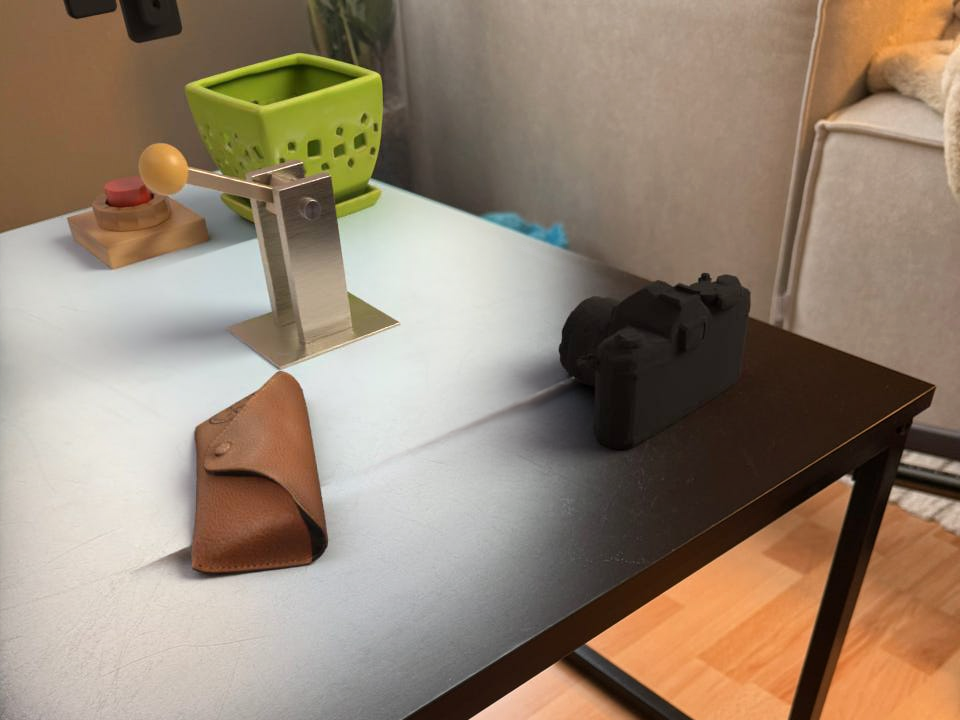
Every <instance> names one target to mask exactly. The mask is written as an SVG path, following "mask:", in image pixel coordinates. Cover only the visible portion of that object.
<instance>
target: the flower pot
mask: <svg viewBox="0 0 960 720" xmlns="http://www.w3.org/2000/svg"><path fill="white" fill-rule="evenodd" d="M184 92H185V96H186V99H187V103H188V106H189V109H190V112H191V115H192V118H193V120H194V124H195V126H196V128H197V131H198V134H199V136H200V138H201V140H202V142H203V144H204V146H205V148H206V150H207V152H208V154H209V155H210V157H211V159H212V161H213V162H214V164H215V166H216V167H217V168H218V170H219V171H220V174H222V175H226V176H230V177H235V178H239V179H243V180H246V176H245V174H246V173H248V172H252V171H256V170H259V169H263V168H266V167H270V166H274V165H277V164H281V163H284V162H288V161H292V160H295V159H297V160H299V161H302V162H303V165H304V172H305V177H309V176H312V175H316V174H319V173H323V172H325V173H327V174H330V175H331V177H332V185H333V192H334V199H335V206H336V214H337V220H338V219H340V218H343V217H346V216H349V215H352V214H355V213H357V212H360V211H363V210H366V209H369V208H371V207H373V206H375V205H376V203H378V201H379V199H380V198H381V196H382V189H381V188H380V187H377V186H374V185H372V184H369V182H370V180H371V178H372V175H373V173H374V169H375V166H376V162H377V159H378V156H379V150H380V146H381V137H382V125H383V124H382V123H383V113H384V112H383V111H384V100H383V98H384V96H383V80H382V76H381V75H380V74H379V72H377V71H373V70H371V69H367V68H365V67H361V66H358V65H355V64H351V63H347V62H344V61H340V60H337V59H332V58H328V57H324V56H319V55H314V54H309V53H303V52H298V53H297V52H296V53H293V54H289V55H288V54H287V55H285V56H280V57H276V58H273V59H269V60H264V61H261V62H257V63H254V64H250V65H246V66H243V67H239V68H236V69H235V68H234V69H231V70H228V71H226V72H222V73H217V74H215V75H211V76H207V77H204V78H201V79H198V80H195V81H191V82H189V83H187V84H186V85H184ZM294 96H295V97H294ZM229 144H230V146H229ZM219 198H220V199H221V201H222V202H223V204H225V206H227V207H228V208H229V209H230V210H231V211H232V212H234V213H235V214H237V215H238V216H240V217H242V218H243V219H245V220H247V221H250V222H251V223H253V224H255V222H254V217H253V212H252V207H251V202H250V198H246V197H242V196H237V195H233V194H228V193H224V192H222V193H220V194H219Z"/></svg>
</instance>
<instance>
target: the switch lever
mask: <svg viewBox="0 0 960 720" xmlns="http://www.w3.org/2000/svg"><path fill="white" fill-rule="evenodd" d="M138 173H139V177H141V178H142V180H143V182H144V184H145V185H146V186H147V187H148V188H149V189H150V190H151V191H153V192H155V193H157V194H159V195H164V196H169V197H170V196H174V195H176V194H178V193H179V192H181V191H182V190H183V189H184V188H185V187H186V185H188V186H194V187H198V188H201V189H202V188H203V189H207V190H210V191H215V192H220V193H228V194H233V195H237V196H242V197H246V198H250V199H255V200H259V201H264V202H267V203H266V209H267V210H269V211H270V212H272V213H274V214H276V210H275V204H274V198H273V193H272V187H274V186H277V185H281V184H284V183H288V182H291V181H294V180H290V179H286V178H282V177H278V176H274V175H272V177H271V182H270V186H268V185H264V184H260V183H255V182H251V181H247V180H243V179H239V178H235V177H230V176H226V175H223V174H222V173H218V172H214V171H209V170H205V169H200V168H197V167H192V166H189V165H188V162H187V160H186V158H185V156H184V155H183V154H182V152H181V151H180V150H179V149H178V148H176V147H175V146H173V145H171V144H169V143H163V142H157V143H153V144H151V145H148V146H147V147H145V149H144V150H143V151H142V153H141V154H140V157H139V160H138Z"/></svg>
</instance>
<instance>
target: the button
mask: <svg viewBox="0 0 960 720" xmlns="http://www.w3.org/2000/svg"><path fill="white" fill-rule="evenodd" d="M103 189H104V193H106V196H107V199H108V203H109V206H110V207H117V208H124V207H134V206H138V205H141V204H145V203H147V202H149V201H150V200H152V198H151V194H150V190H149V188H148V187H147V186H146V185H145V184H144V182H143V180H142V178H141V176H125V177H119V178H116V179H113V180H110V181H108V182H107V183H105V184H104V187H103Z"/></svg>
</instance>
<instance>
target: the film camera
mask: <svg viewBox="0 0 960 720" xmlns="http://www.w3.org/2000/svg"><path fill="white" fill-rule="evenodd" d="M712 279H713V278H712V277H711V275H710V273H709V272H702V273H701V274H700V276H699V277H698V278H697V282H693V283H690V284H689V285H687V284H684V283H682V282H678V283H677V284H675V285H671V284H670V283H668V282H666V281H664V280H661V279H656V280H655V281H653V282H651V283H649V284H647V285H645V286H643V287H641V288H639V289H638V290H636V291H635V292H634V293H632V294H630V295H629V296H627V297H626V298H625V299H623V300H619V299H616V298H614V297H602V296H597V295H593V296H590V297H588V298H585V299H584V300H581V301H580V303H579V304H577V305H576V307H575V308H574V309H573V310H571V312H570V313H569V315H568V316H567V318H566V320H565V322H564V324H563V327H562V329H561V341H560V343H559V345H558V353H559V362H560V364H561V366H562V368H563V369H564V370H565V372H566V373H568V374H570V375H571V376H572V377H573V378H574V379H575V380H576V381H578V383H582V384H584V385H587V386H590V387H593V388H594V413H593V425H592V430H593V434H594V437H595V440H596V441H597V443H599V444H601V445H602V446H605V447H608V448H609V449H614V450H626V449H627V450H628V449H632V448H634V447H637V445H639V444H640V443H643V442H644V441H647V440H648V439H650V438H652V437H654V436H656V435H657V434H659V433H660V432H663V430H665V429H666V428H669V427H670V426H672V425H674V424H675V423H676V422H678V421H680V420H681V419H683V418H685V417H687V416H688V415H689V414H691V413H693V412H694V411H696V410H698V409H699V408H700V407H702V406H704V405H705V404H708V402H710V401H712V400H713V399H714V398H717V397H718V396H720V395H721V394H722V393H723V392H725V391H727V390H728V389H729V388H730V387H732V386H733V385H735V384H736V383H737V382H738V381H739V378H740V377H741V374H742V369H743V368H742V362H743V357H744V352H745V344H746V337H747V331H748V324H749V317H750V316H749V314H750V312H751V307H752V301H751V299H752V298H751V294H752V292H751V291H750V290H749V288H747V287H745V286H743V285H742V283H741V281H740V279H739V278H738V276H737V275H732V274H726V273H725V274H721V275H718V276H716V280H715V281H712Z"/></svg>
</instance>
